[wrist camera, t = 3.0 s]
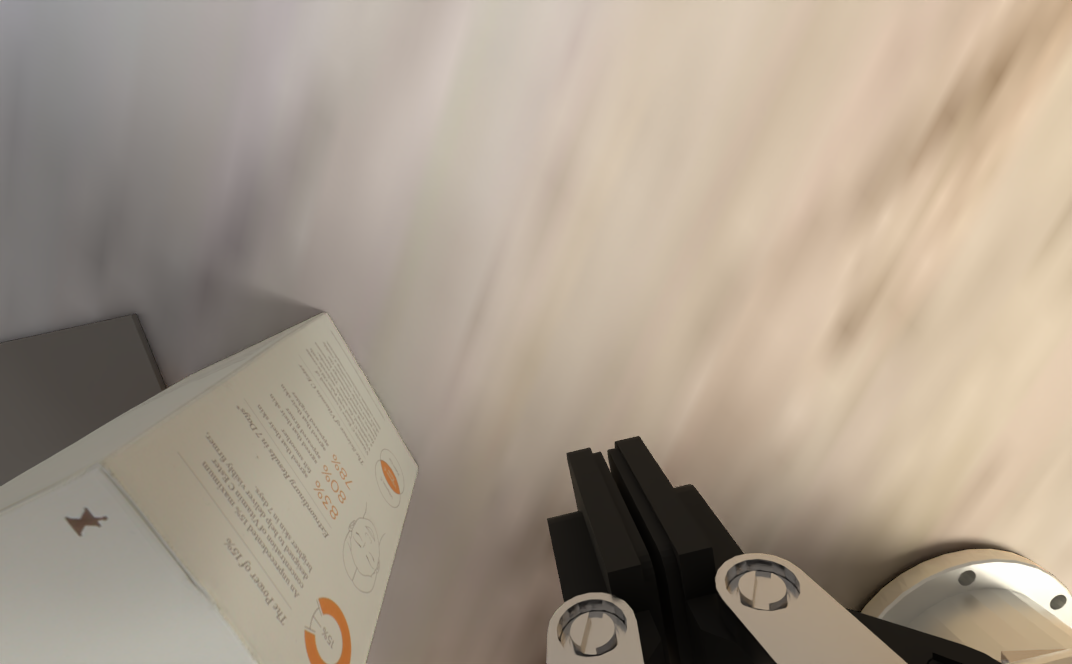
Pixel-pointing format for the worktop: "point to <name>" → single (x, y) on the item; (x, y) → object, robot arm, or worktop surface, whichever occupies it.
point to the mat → (69, 387)
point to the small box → (214, 520)
